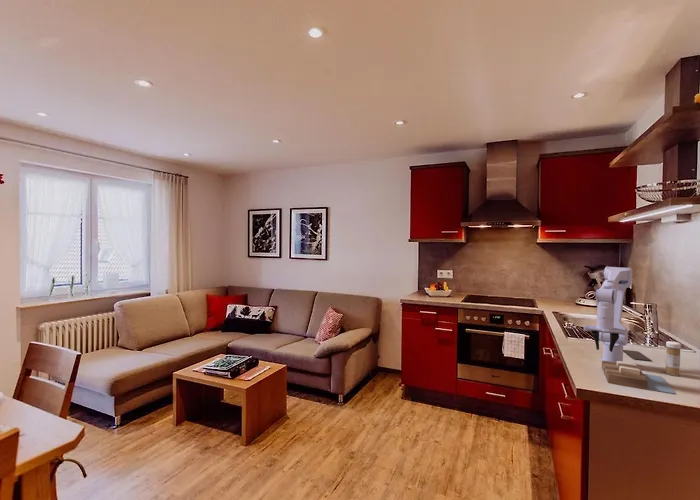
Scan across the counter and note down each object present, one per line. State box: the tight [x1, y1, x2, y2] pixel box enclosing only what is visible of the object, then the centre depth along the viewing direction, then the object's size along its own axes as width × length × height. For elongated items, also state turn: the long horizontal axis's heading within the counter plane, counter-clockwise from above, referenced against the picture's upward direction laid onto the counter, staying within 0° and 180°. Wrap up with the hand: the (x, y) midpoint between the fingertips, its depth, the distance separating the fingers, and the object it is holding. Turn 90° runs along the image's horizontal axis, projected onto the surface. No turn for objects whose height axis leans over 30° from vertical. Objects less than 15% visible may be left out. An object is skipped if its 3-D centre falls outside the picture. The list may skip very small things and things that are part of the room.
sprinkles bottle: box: [664, 340, 682, 377], centre depth 147 cm, size 5×5×14 cm
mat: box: [643, 373, 677, 395], centre depth 138 cm, size 18×8×1 cm, turn 151°
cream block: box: [617, 361, 641, 376], centre depth 142 cm, size 9×6×2 cm, turn 151°
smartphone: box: [623, 349, 653, 363], centre depth 170 cm, size 7×1×15 cm
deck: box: [601, 360, 648, 390], centre depth 143 cm, size 18×12×4 cm, turn 151°
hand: (604, 350), depth 145 cm, fingers open, 4 cm apart
